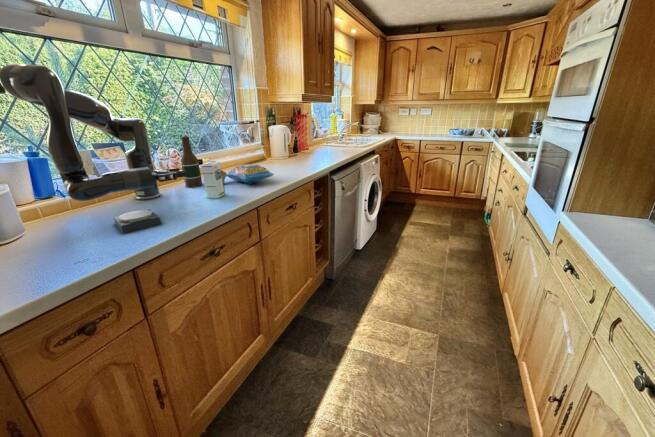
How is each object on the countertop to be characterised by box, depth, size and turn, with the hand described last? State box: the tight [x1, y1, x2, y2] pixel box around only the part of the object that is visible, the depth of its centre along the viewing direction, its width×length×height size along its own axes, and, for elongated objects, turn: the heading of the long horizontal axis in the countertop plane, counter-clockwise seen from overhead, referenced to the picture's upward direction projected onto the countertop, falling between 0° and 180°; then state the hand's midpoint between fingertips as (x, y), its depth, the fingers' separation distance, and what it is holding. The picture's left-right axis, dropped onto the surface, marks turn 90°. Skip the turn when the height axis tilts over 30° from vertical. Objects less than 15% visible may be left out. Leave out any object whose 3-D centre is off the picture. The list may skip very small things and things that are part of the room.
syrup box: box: [200, 161, 226, 199], centre depth 129 cm, size 6×6×14 cm
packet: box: [226, 164, 275, 185], centre depth 153 cm, size 17×24×8 cm
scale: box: [113, 208, 162, 234], centre depth 101 cm, size 12×11×3 cm
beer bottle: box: [180, 135, 203, 188], centre depth 147 cm, size 8×8×24 cm
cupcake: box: [211, 159, 228, 184], centre depth 151 cm, size 9×8×12 cm
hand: (182, 171), depth 119 cm, fingers open, 8 cm apart
